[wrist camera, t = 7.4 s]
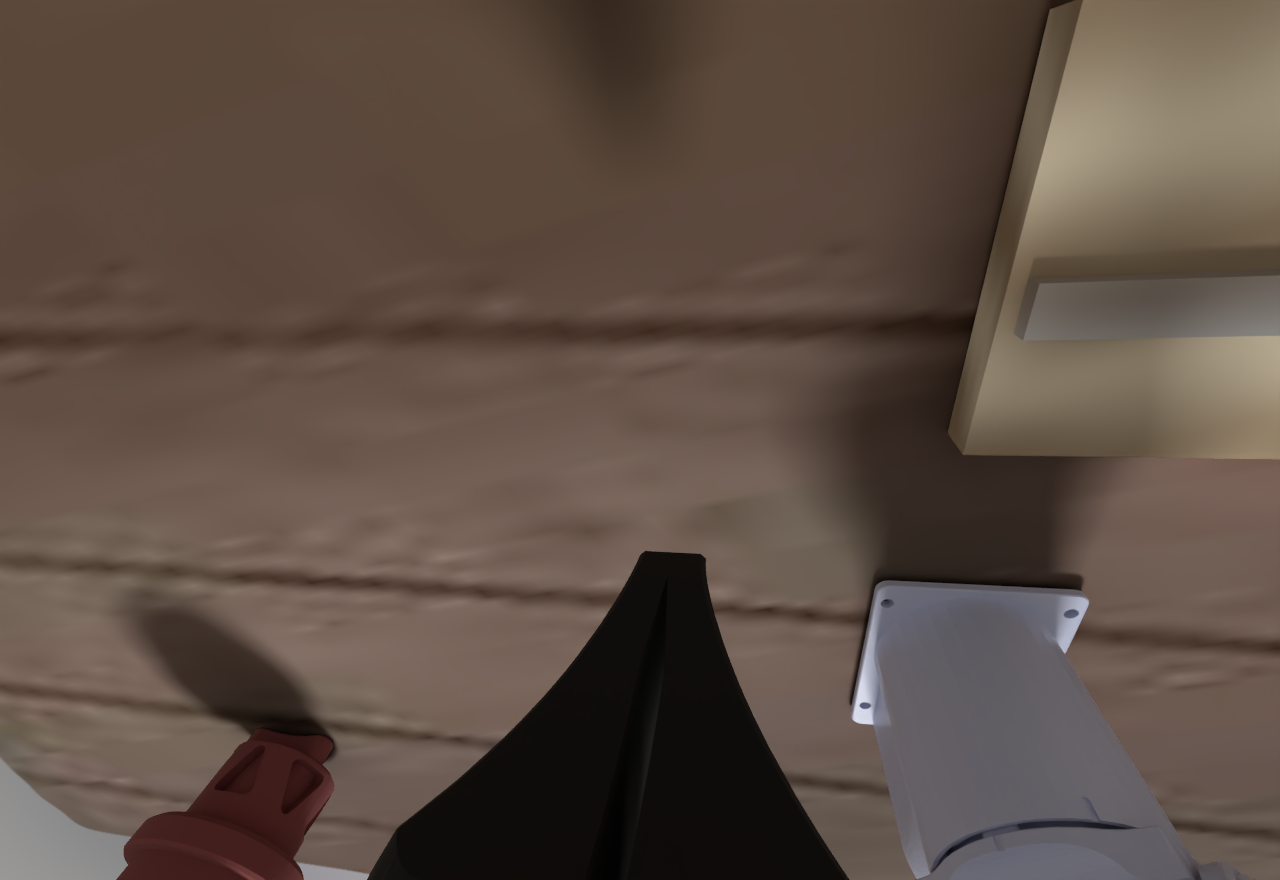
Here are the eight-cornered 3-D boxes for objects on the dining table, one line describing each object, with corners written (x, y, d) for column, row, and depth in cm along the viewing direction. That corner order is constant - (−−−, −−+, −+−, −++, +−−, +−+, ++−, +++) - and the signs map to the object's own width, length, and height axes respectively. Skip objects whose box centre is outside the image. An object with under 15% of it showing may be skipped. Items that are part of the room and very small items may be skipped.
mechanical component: (207, 720, 38) (289, 689, 35) (312, 794, 42) (397, 773, 38) (8, 946, 28) (95, 936, 24) (171, 1019, 31) (270, 1020, 28)
